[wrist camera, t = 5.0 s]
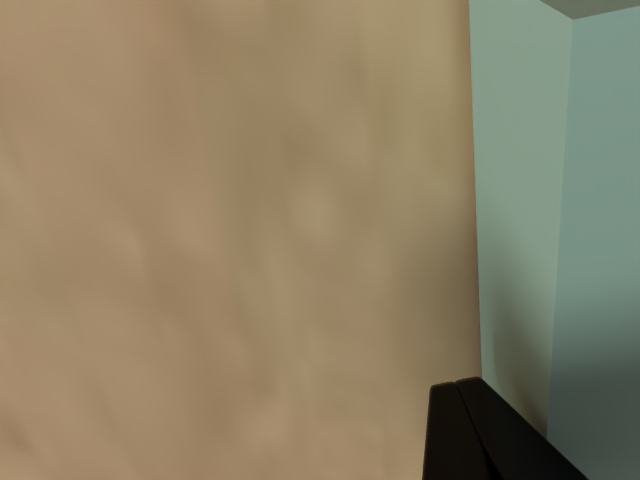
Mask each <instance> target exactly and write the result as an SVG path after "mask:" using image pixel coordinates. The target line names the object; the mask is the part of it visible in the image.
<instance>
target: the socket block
mask: <svg viewBox="0 0 640 480" xmlns="http://www.w3.org/2000/svg"><path fill="white" fill-rule="evenodd" d="M469 20H470V49H471V77H472V106H473V134H474V163H475V191H476V220H477V248H478V277H479V305H480V334H481V362H482V379H483V380H484V381H485V382H486V383H487V384H488V385H489V386H490V387H492V388H493V389H494V390H495V391H496V392H497V393H498V394H499V395H500V396H501V397H502V398H503V399H504V400H505V401H506V402H507V403H509V404H510V405H511V406H512V407H513V408H514V409H515V410H516V411H517V412H518V413H519V414H520V415H521V416H522V417H523V418H524V419H525V420H527V421H528V422H529V423H530V424H531V425H532V426H533V427H534V428H535V429H536V430H537V431H538V432H539V433H540V434H541V435H542V436H543V437H545V438H546V439H547V440H548V441H549V442H550V443H551V444H552V445H553V446H554V447H555V448H556V449H557V450H558V451H559V452H560V453H561V454H563V455H564V456H565V457H566V458H567V459H568V460H569V461H570V462H571V463H572V464H573V465H574V466H575V467H576V468H577V469H578V470H580V471H581V472H582V473H583V474H584V475H585V476H586V477H587V478H588V479H589V480H640V0H469Z"/></svg>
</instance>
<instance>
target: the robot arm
mask: <svg viewBox="0 0 640 480" xmlns="http://www.w3.org/2000/svg"><path fill="white" fill-rule="evenodd" d="M422 480H589V479H588V478H587V477H586V476H585V475H584V474H583V473H582V472H581V471H580V470H578V469H577V468H576V467H575V466H574V465H573V464H572V463H571V462H570V461H569V460H568V459H567V458H566V457H565V456H564V455H563V454H561V453H560V452H559V451H558V450H557V449H556V448H555V447H554V446H553V445H552V444H551V443H550V442H549V441H548V440H547V439H546V438H545V437H543V436H542V435H541V434H540V433H539V432H538V431H537V430H536V429H535V428H534V427H533V426H532V425H531V424H530V423H529V422H528V421H527V420H525V419H524V418H523V417H522V416H521V415H520V414H519V413H518V412H517V411H516V410H515V409H514V408H513V407H512V406H511V405H510V404H509V403H507V402H506V401H505V400H504V399H503V398H502V397H501V396H500V395H499V394H498V393H497V392H496V391H495V390H494V389H493V388H492V387H490V386H489V385H488V384H487V383H486V382H485V381H484V380H483V379H482V378H480V377H471V378H466V379H461V380H457V381H456V382H446V383H441V384H436V385H433V386H431V388H430V394H429V406H428V417H427V429H426V440H425V452H424V463H423V475H422Z"/></svg>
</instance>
